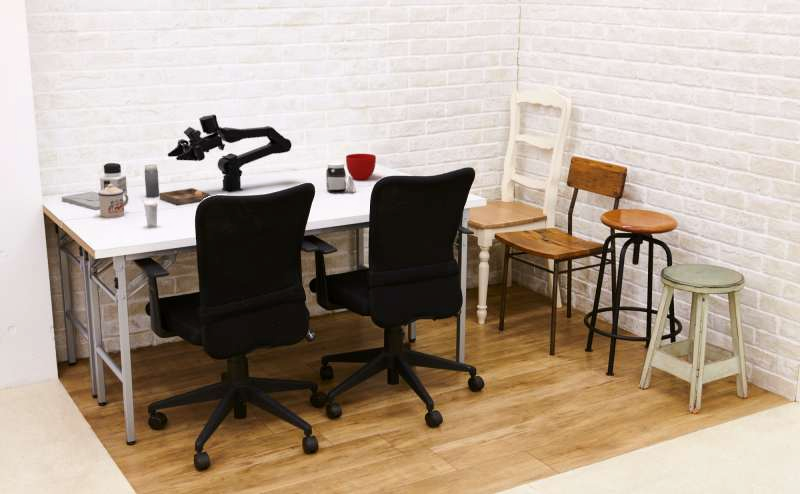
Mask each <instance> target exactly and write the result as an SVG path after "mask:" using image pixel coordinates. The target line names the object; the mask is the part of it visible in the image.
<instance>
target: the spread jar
mask: <svg viewBox="0 0 800 494" xmlns="http://www.w3.org/2000/svg"><path fill="white" fill-rule="evenodd" d="M325 172H326V173H325V179H326V180H325V181H326V183H325V185H326V191H327V192H328V193H330V194H341V193H342V194H343V193H344V192H346V190H348V192H349V193H350V194H351V193H354V192H355V191H356V187H355V183H354V179H353V177H352V176H351V175H350V176H349V175H348V176H347V175H346V173H347V172H346V170H345V163H344V162H340V161H332V162H328V163H327V169H326V171H325Z"/></svg>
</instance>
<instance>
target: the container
mask: <svg viewBox="0 0 800 494" xmlns="http://www.w3.org/2000/svg"><path fill="white" fill-rule="evenodd" d="M121 167H122V166H121V164H120V163H119V162H118V163H117V162H108V163H105V164H103V173H104V176H102V177H100V178H99V182H100V190H103V189H104V188H106V187H108V184H113V187H116V188H118V189H121V190H123V192H124V193H125V194H127V193H128V188H127V186H128V185H127V175H126V174H122V168H121ZM127 195H128V194H127Z"/></svg>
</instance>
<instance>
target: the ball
mask: <svg viewBox="0 0 800 494" xmlns="http://www.w3.org/2000/svg"><path fill="white" fill-rule="evenodd" d="M201 191H202V190H199V191H196V192H195V196H198V195H203V193H202V192H203V191H202V192H201Z"/></svg>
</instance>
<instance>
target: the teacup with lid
mask: <svg viewBox="0 0 800 494" xmlns="http://www.w3.org/2000/svg"><path fill="white" fill-rule="evenodd" d="M97 193H98V195H99V202H100V211H99V214H100V216H101V217H102V218H108V219H109V218H110V219H111V218H118V217H122V216H124V215H125V207H126V206H127V205H128V203H129V195H128V194H125V193H124V192H123V190H121V189H118V188H116V187H113V184H108V187H106V188H104V189H103V190H101V189H100V190H98V192H97ZM124 198H125V200H124ZM123 200H124V201H125V203H124V201H123Z"/></svg>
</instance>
